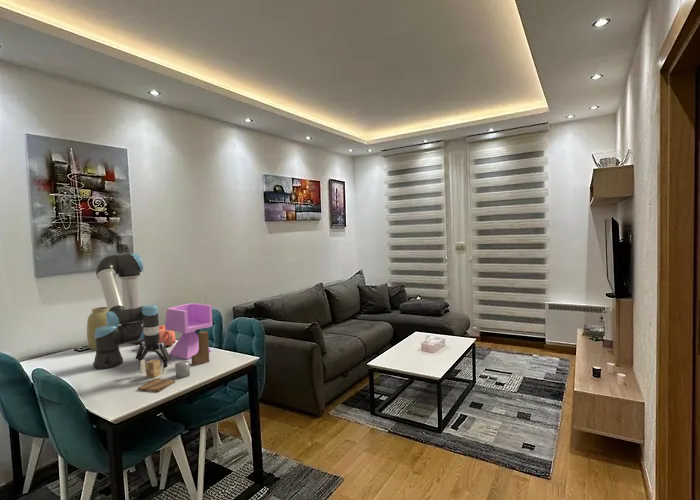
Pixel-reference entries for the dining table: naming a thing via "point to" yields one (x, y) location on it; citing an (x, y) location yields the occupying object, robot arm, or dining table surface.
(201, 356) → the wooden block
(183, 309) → the chair
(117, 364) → the robot arm
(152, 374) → the oak block
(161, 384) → the walnut board
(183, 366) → the grey dome cap
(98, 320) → the vase
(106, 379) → the dining table surface
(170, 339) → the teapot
